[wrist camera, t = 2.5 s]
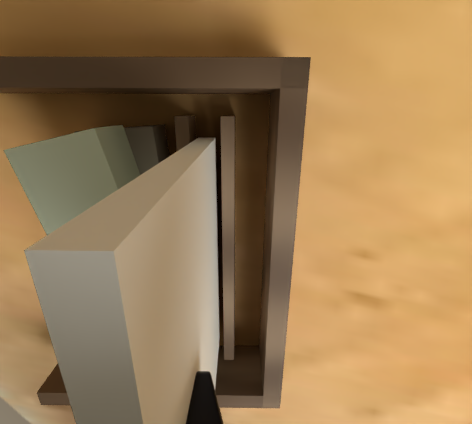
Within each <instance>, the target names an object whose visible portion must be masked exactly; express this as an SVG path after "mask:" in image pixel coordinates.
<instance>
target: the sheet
mask: <svg viewBox="0 0 472 424" xmlns="http://www.w3.org/2000/svg"><path fill="white" fill-rule="evenodd" d="M24 251H25V255H26V258H27V261H28V265H29V268H30V271H31V275H32V278H33V281H34V285H35V288H36V291H37V295H38V298H39V301H40V305H41V308H42V311H43V315H44V318H45V321H46V325H47V328H48V331H49V335H50V338H51V341H52V345H53V348H54V351H55V355H56V358H57V361H58V365H59V368H60V371H61V375H62V378H63V381H64V385H65V388H66V391H67V395H68V398H69V401H70V405H71V408H72V411H73V415H74V418H75V421H76V424H186V421H187V415H188V410H189V405H190V400H191V396H192V391H193V386H194V381H195V376H196V372H197V371H209V372H210V373H211V376H212V380H213V384H214V388H215V385H216V374H217V362H218V351H219V339H220V325H219V276H218V228H217V179H216V138H197V139H196V140H194V141H192V142H191V143H189V144H188V145H186V146H185V147H183V148H182V149H180V150H179V151H177V152H175V153H174V154H172V155H171V156H169V157H168V158H166V159H165V160H163V161H161V162H160V163H158V164H157V165H155V166H154V167H152V168H151V169H149V170H148V171H146V172H144V173H143V174H141V175H140V176H138V177H137V178H135V179H134V180H132V181H131V182H129V183H127V184H126V185H124V186H123V187H121V188H120V189H118V190H117V191H115V192H113V193H112V194H110V195H109V196H107V197H106V198H104V199H103V200H101V201H100V202H98V203H96V204H95V205H93V206H92V207H90V208H89V209H87V210H86V211H84V212H83V213H81V214H79V215H78V216H76V217H75V218H73V219H72V220H70V221H69V222H67V223H65V224H64V225H62V226H61V227H59V228H58V229H56V230H55V231H53V232H52V233H50V234H48V235H47V236H45V237H44V238H42V239H41V240H39V241H38V242H36V243H35V244H33V245H31V246H30V247H28V248H27V249H25V250H24Z"/></svg>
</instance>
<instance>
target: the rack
mask: <svg viewBox="0 0 472 424" xmlns="http://www.w3.org/2000/svg"><path fill="white" fill-rule="evenodd" d="M310 58H311V57H0V93H106V94H270V110H269V133H268V155H267V178H266V201H265V224H264V247H263V269H262V292H261V315H260V338H259V346H234V337H235V116H221V179H222V247H223V314H224V346H219V351H218V362H217V374H216V385H215V392H216V396H217V400H218V404H219V407H227V408H280V401H281V389H282V378H283V366H284V355H285V344H286V332H287V321H288V309H289V298H290V286H291V275H292V264H293V252H294V241H295V229H296V218H297V207H298V195H299V184H300V172H301V161H302V149H303V138H304V127H305V115H306V104H307V92H308V81H309V69H310ZM174 120H175V134H176V148H177V151H179V150H180V149H182V148H183V147H185V146H186V145H188V144H189V143H191V142H192V141H194V140H196V122H195V116H174ZM37 395H38V397H39V400H40V403H41V405H70V401H69V398H68V395H67V391H66V388H65V385H64V381H63V378H62V375H61V371H60V368H59V365H58V364H57V365H56V367H55V368H54V370H53V371H52V372H51V374H50V375H49V377H48V378H47V379H46V381H45V382H44V384H43V385H42V386H41V388H40V389H39V390H38V392H37Z"/></svg>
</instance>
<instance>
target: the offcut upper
mask: <svg viewBox="0 0 472 424" xmlns="http://www.w3.org/2000/svg"><path fill="white" fill-rule="evenodd" d="M4 152H5V154H6V156H7V158H8V160H9V162H10V164H11V166H12V168H13V170H14V172H15V174H16V176H17V177H18V179H19V181H20V183H21V185H22V187H23V189H24V191H25V193H26V195H27V197H28V199H29V201H30V203H31V205H32V207H33V209H34V211H35V213H36V215H37V217H38V218H39V220H40V222H41V224H42V226H43V228H44V230H45V232H46V234H47V235H48V234H50V233H52V232H53V231H55V230H56V229H58V228H59V227H61V226H62V225H64V224H65V223H67V222H69V221H70V220H72V219H73V218H75V217H76V216H78V215H79V214H81V213H83V212H84V211H86V210H87V209H89V208H90V207H92V206H93V205H95V204H96V203H98V202H100V201H101V200H103V199H104V198H106V197H107V196H109V195H110V194H112V193H113V192H115V191H117V190H118V189H120V188H121V187H123V186H124V185H126V184H127V183H129V182H131V181H132V180H134V179H135V178H137V177H138V176H140V173H139V170H138V167H137V164H136V161H135V158H134V156H133V153H132V150H131V147H130V144H129V141H128V139H127V136H126V133H125V130H124V127H123V125H116V126H108V127H99V128H92V129H88V130H84V131H80V132H76V133H72V134H68V135H64V136H60V137H56V138H52V139H48V140H44V141H39V142H35V143H31V144H27V145H23V146H19V147H15V148H11V149H7V150H4Z"/></svg>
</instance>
